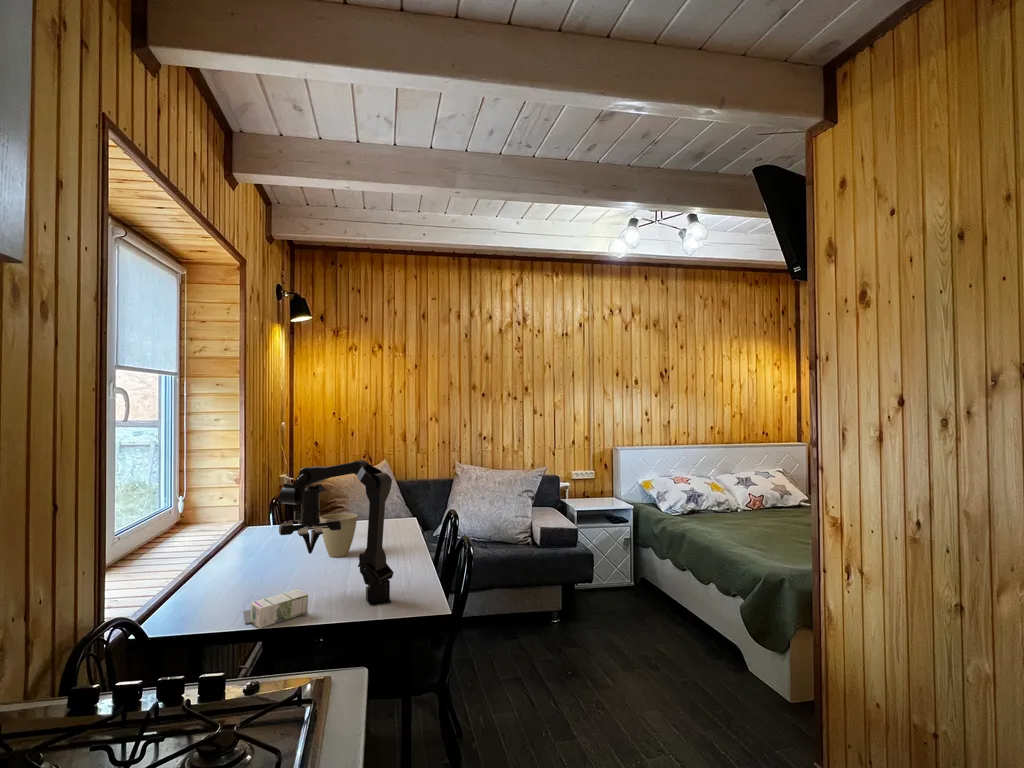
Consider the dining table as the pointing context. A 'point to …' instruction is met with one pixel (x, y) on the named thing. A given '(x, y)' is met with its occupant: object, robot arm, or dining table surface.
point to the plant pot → (339, 534)
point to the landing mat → (248, 616)
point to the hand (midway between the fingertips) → (310, 553)
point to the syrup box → (279, 608)
